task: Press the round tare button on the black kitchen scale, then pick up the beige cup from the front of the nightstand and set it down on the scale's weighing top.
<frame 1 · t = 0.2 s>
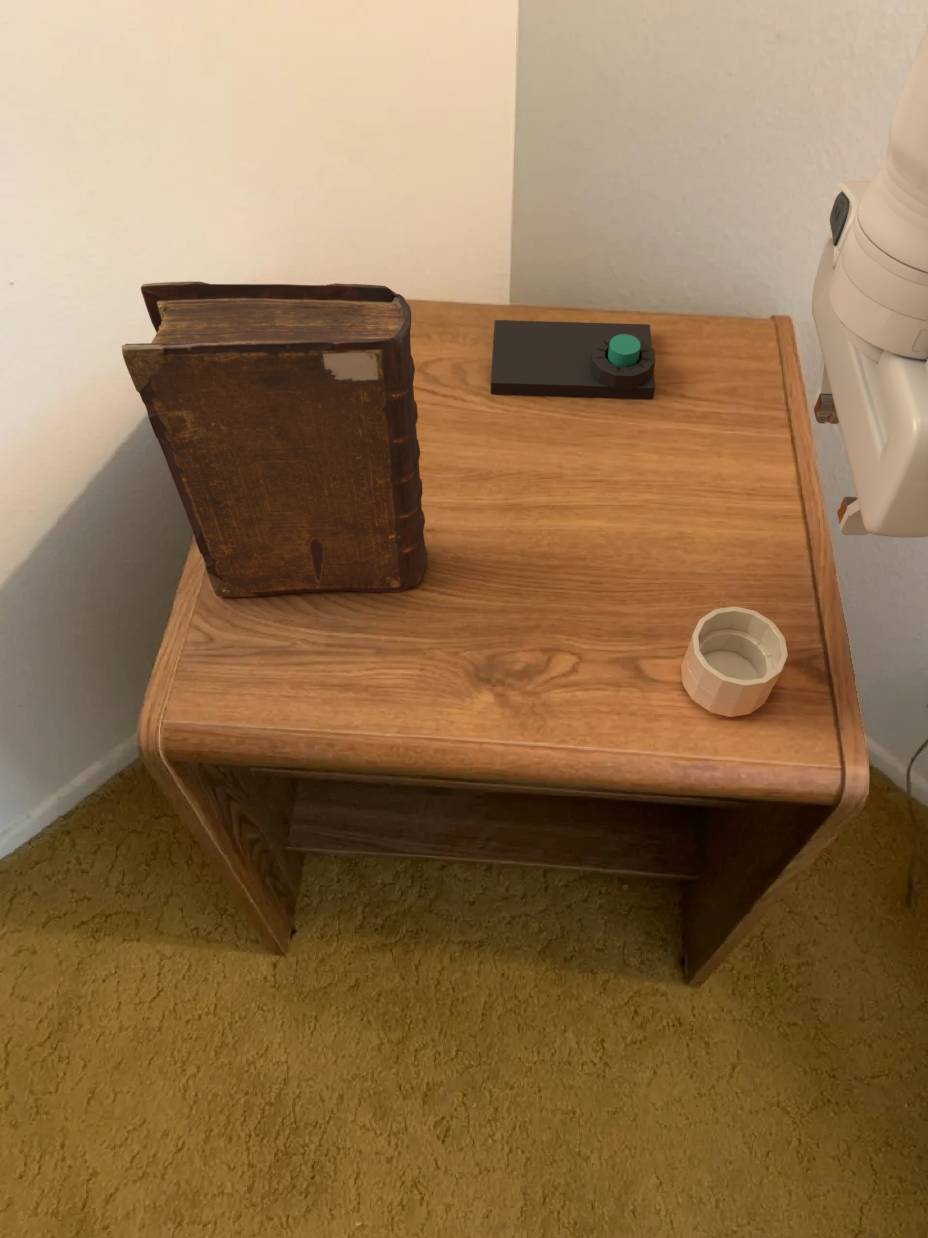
hand: (838, 468, 58), 16 cm above the table, tool pointing down, fingers open, 8 cm apart
scale: (571, 364, 88), on the table
beige cup: (723, 681, 68), on the table
tare button: (624, 350, 84), point 3 cm above the table, slide at 0.1 cm
book: (324, 574, 74), on the table
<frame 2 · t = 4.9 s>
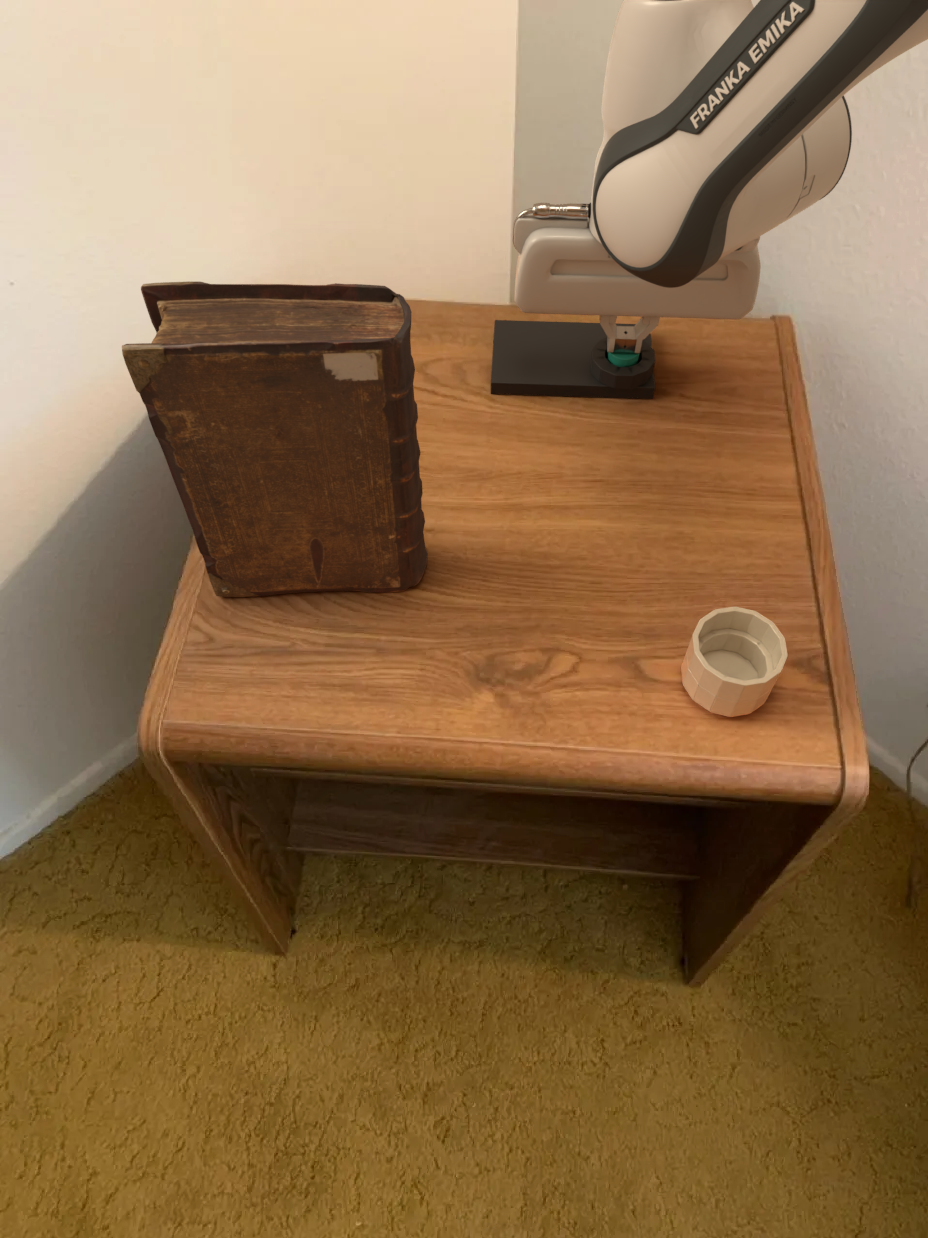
hand: (623, 348, 84), 4 cm above the table, tool pointing down, fingers closed, pressing on tare button
tare button: (623, 355, 84), point 3 cm above the table, slide at -0.4 cm, touching gripper
everything else where it was.
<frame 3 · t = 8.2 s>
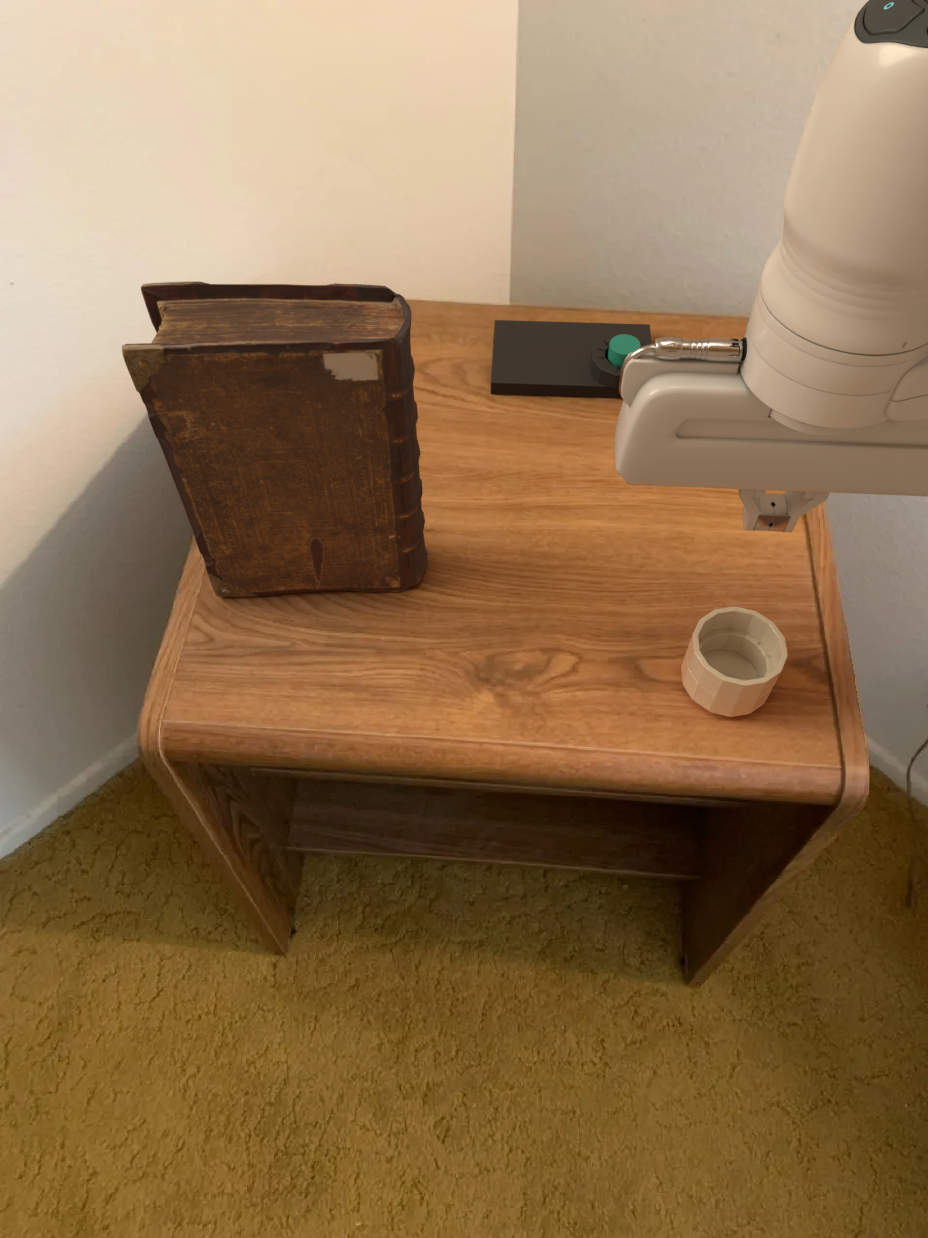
hand: (765, 523, 58), 15 cm above the table, tool pointing down, fingers closed
tare button: (624, 350, 84), point 3 cm above the table, slide at 0.1 cm
everything else where it was.
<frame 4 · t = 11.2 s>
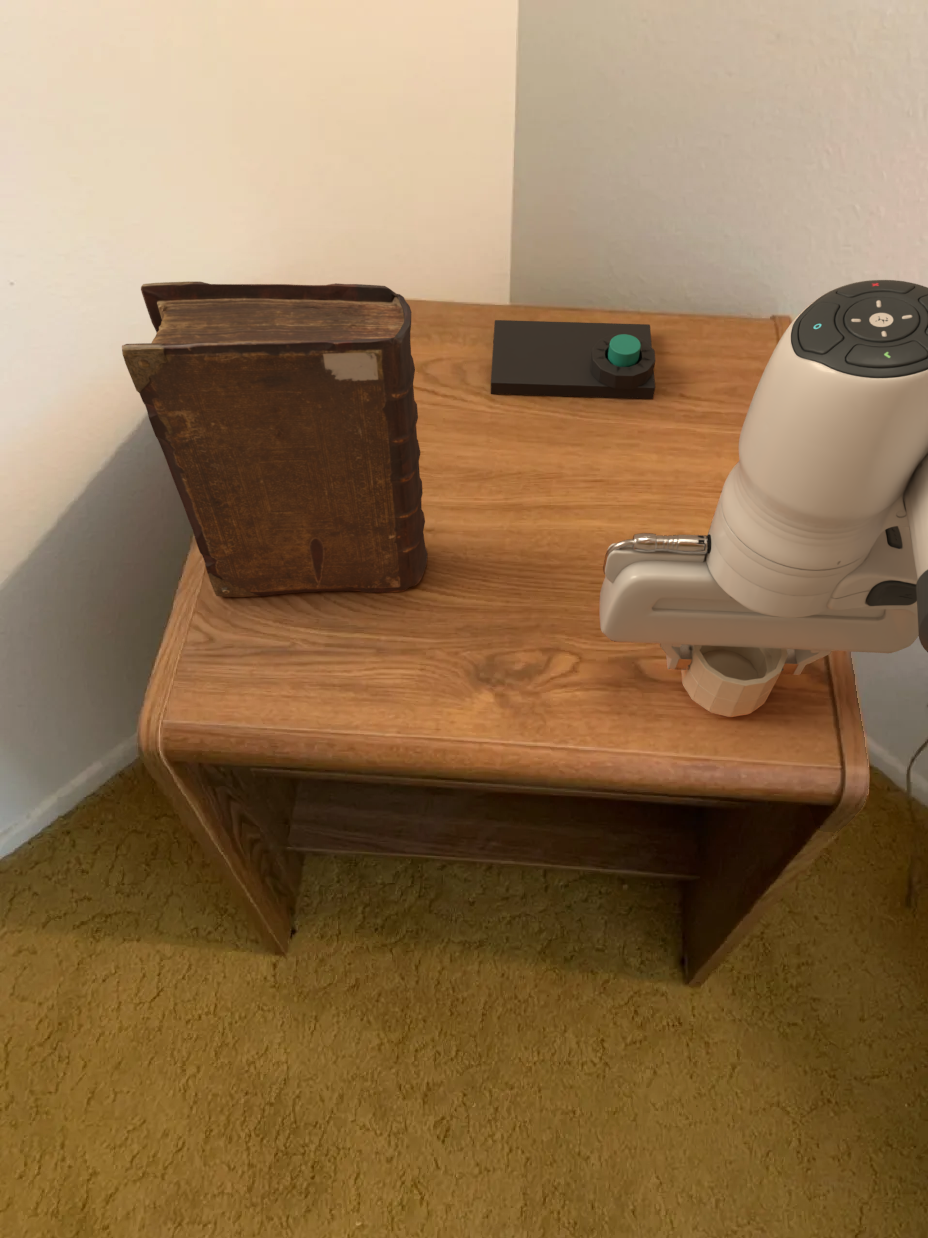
hand: (732, 664, 66), 2 cm above the table, tool pointing down, fingers closed on beige cup, 6 cm apart
beige cup: (723, 681, 68), on the table, touching gripper
everything else where it was.
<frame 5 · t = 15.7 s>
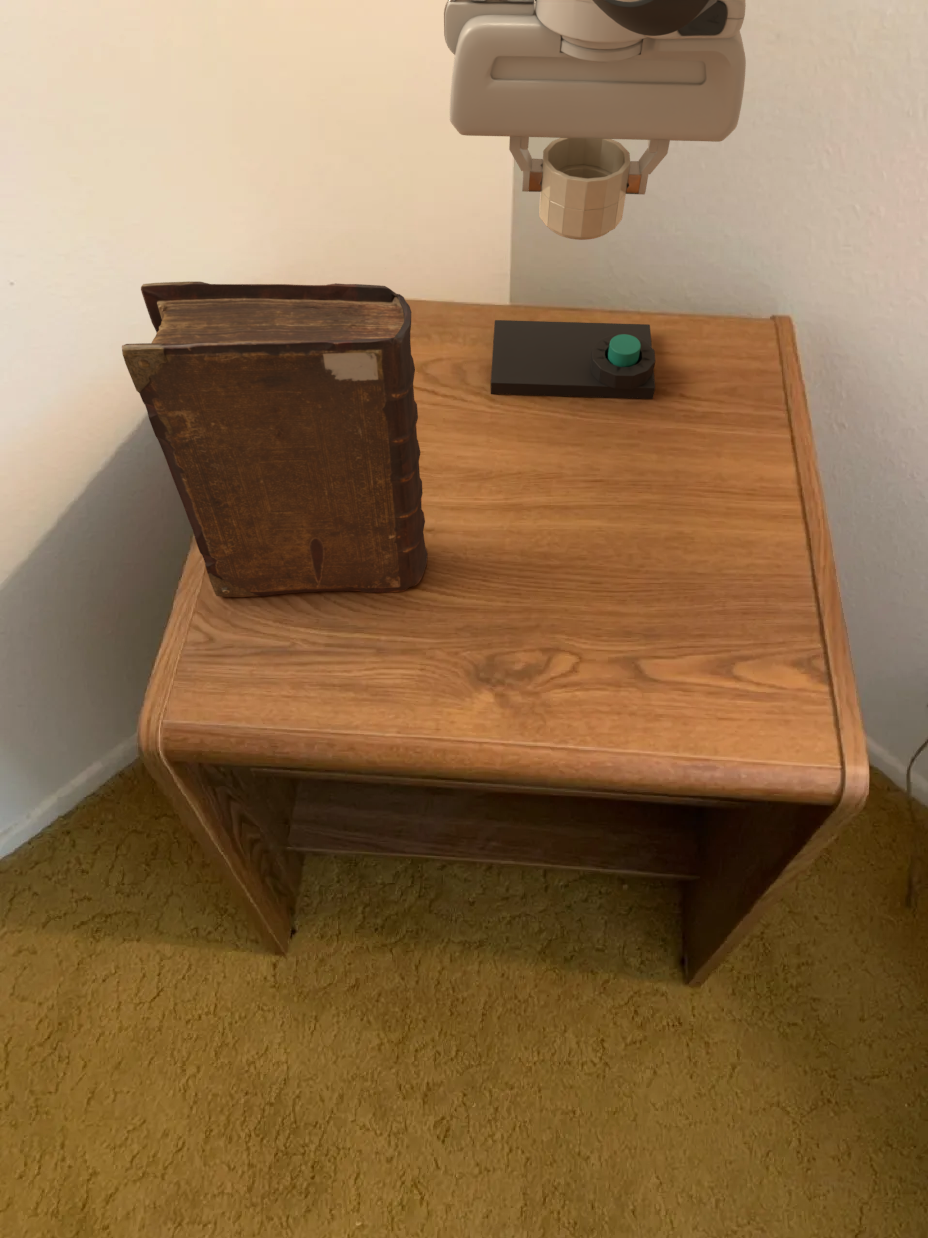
hand: (583, 188, 70), 19 cm above the table, tool pointing down, fingers closed on beige cup, 6 cm apart
beige cup: (579, 218, 72), point 17 cm above the table, touching gripper
everything else where it was.
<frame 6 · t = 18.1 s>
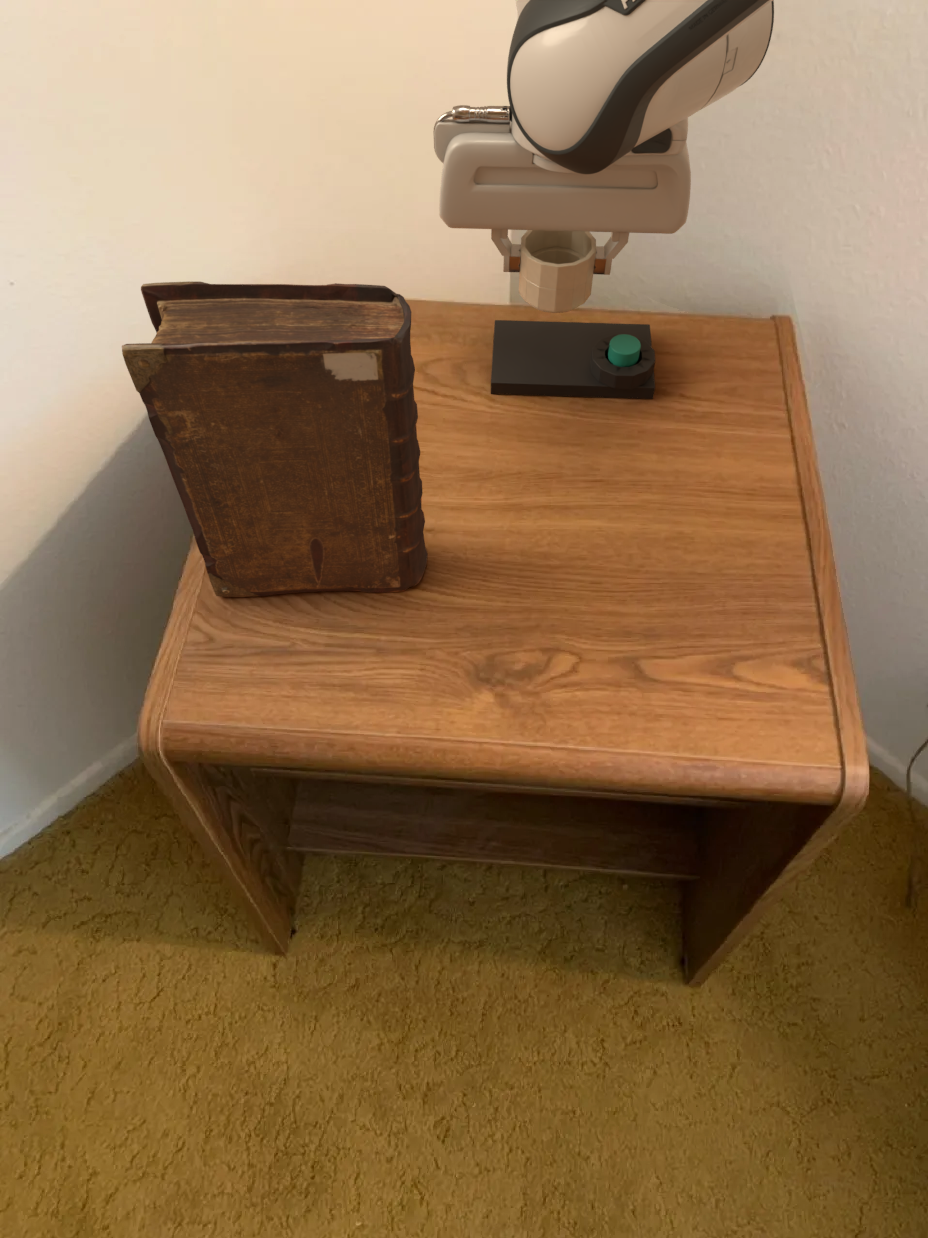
hand: (556, 269, 81), 10 cm above the table, tool pointing down, fingers closed on beige cup, 6 cm apart
beige cup: (554, 293, 83), point 7 cm above the table, touching gripper
everything else where it was.
when the fingers open (4 cm above the table, at t = 20.3 s): beige cup stays where it is, resting on scale.
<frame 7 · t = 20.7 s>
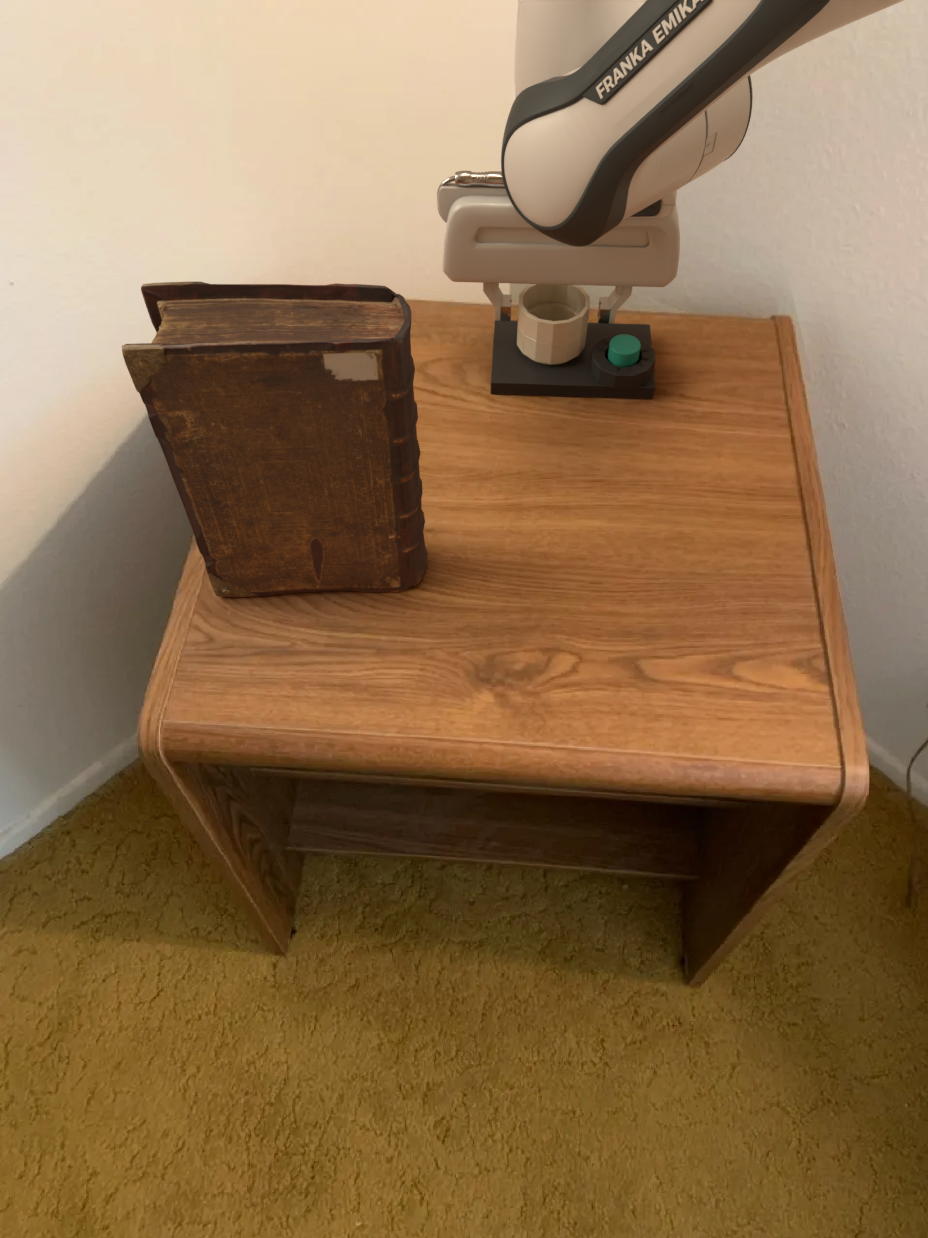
hand: (554, 318, 85), 4 cm above the table, tool pointing down, fingers open, 8 cm apart
beige cup: (550, 345, 88), point 1 cm above the table, touching scale
everything else where it was.
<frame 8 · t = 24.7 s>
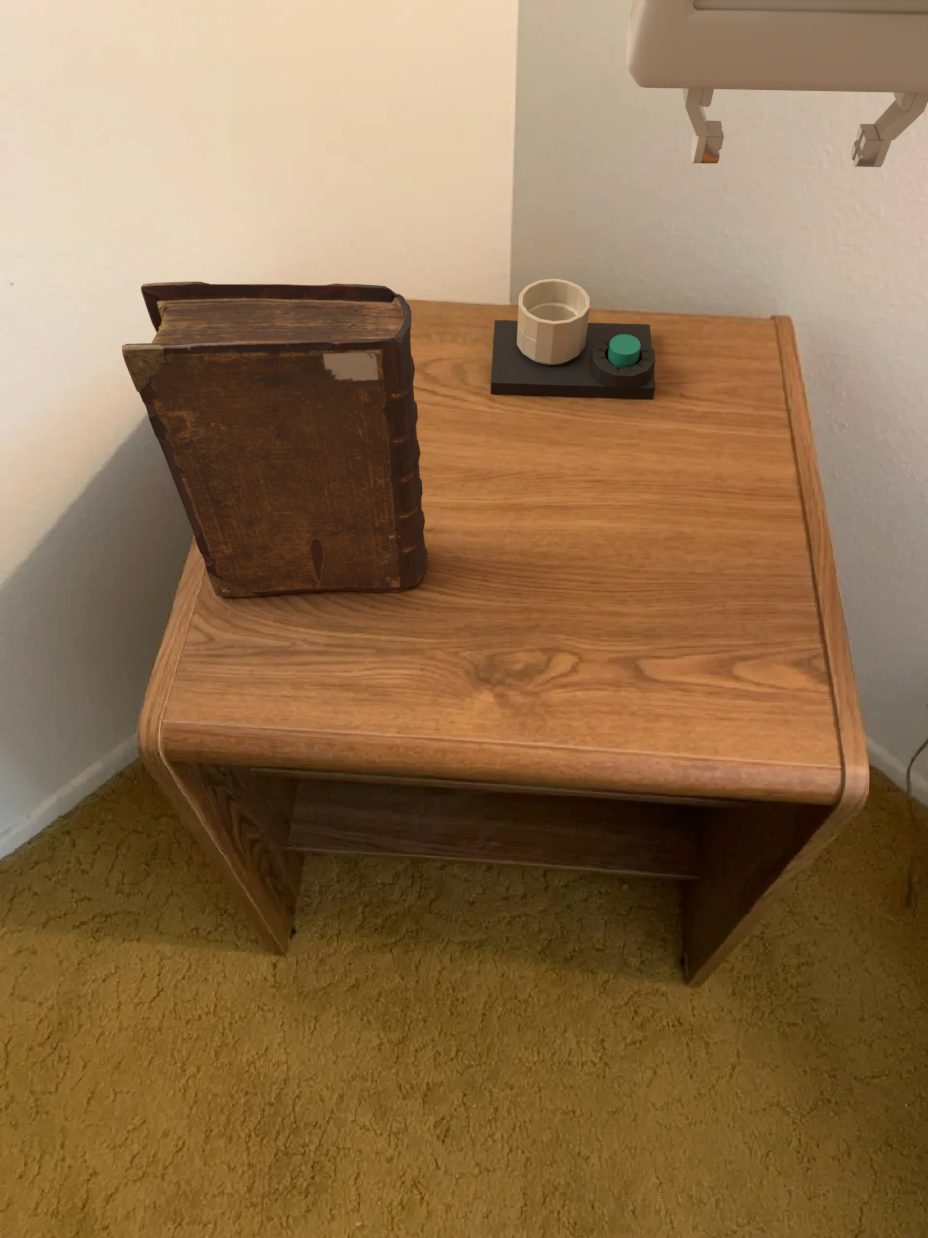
hand: (783, 160, 55), 29 cm above the table, tool pointing down, fingers open, 8 cm apart
nothing on the table moved.
at the end: tare button pushed in 0.9 cm at the most during the clip, back to where it started at the end; beige cup 0.2 cm from the target spot on the scale, point 1.4 cm above the scale's base; beige cup tilted 0° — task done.
